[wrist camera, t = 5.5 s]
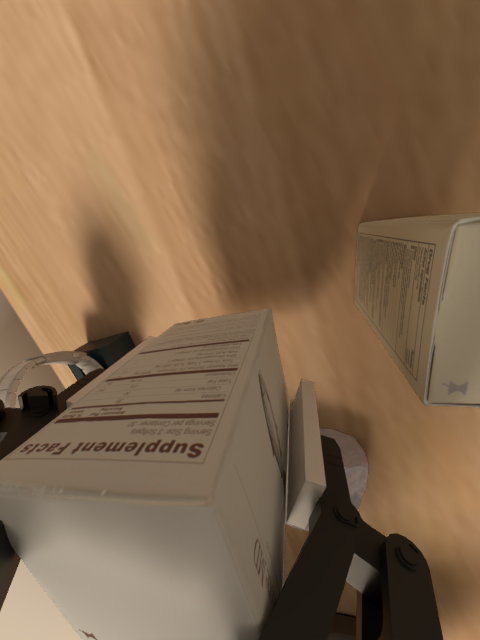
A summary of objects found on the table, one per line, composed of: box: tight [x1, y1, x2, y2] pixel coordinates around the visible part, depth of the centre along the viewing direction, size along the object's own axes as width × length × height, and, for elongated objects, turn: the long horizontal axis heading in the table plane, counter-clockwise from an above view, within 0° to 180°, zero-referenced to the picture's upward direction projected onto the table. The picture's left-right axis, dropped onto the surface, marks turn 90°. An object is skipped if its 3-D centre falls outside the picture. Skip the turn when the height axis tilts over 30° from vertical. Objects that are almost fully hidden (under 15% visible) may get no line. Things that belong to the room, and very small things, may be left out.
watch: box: [0, 332, 135, 408], centre depth 22 cm, size 6×8×11 cm
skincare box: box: [354, 212, 480, 408], centre depth 13 cm, size 6×4×12 cm
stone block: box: [286, 428, 369, 531], centre depth 26 cm, size 12×5×10 cm
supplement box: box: [0, 308, 290, 640], centre depth 12 cm, size 7×7×13 cm
